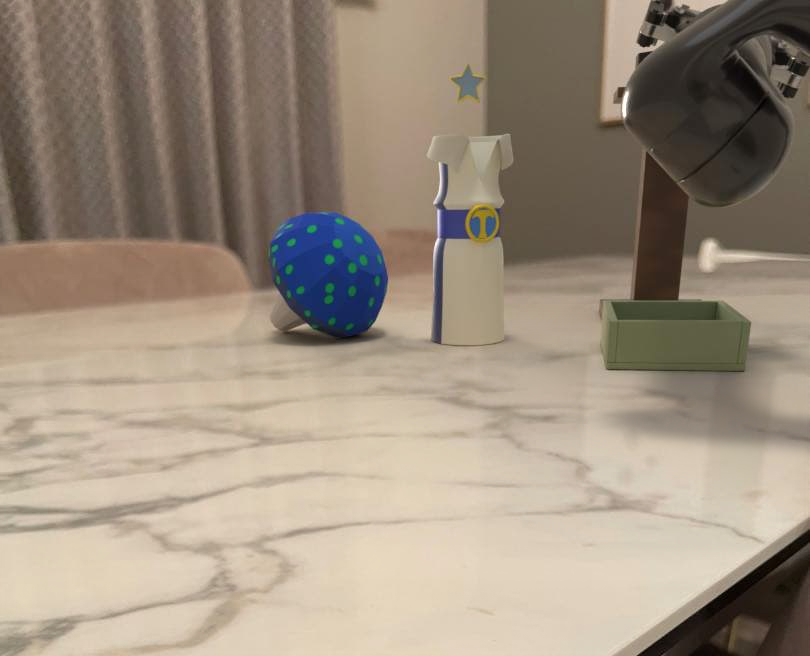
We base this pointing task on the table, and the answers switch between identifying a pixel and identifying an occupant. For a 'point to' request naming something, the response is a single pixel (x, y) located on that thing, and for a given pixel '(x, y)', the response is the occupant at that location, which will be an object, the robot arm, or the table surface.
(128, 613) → the table surface
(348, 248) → the mushroom
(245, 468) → the table surface
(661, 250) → the stand
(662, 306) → the tray
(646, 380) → the table surface
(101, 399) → the table surface
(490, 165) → the cream dress figure
